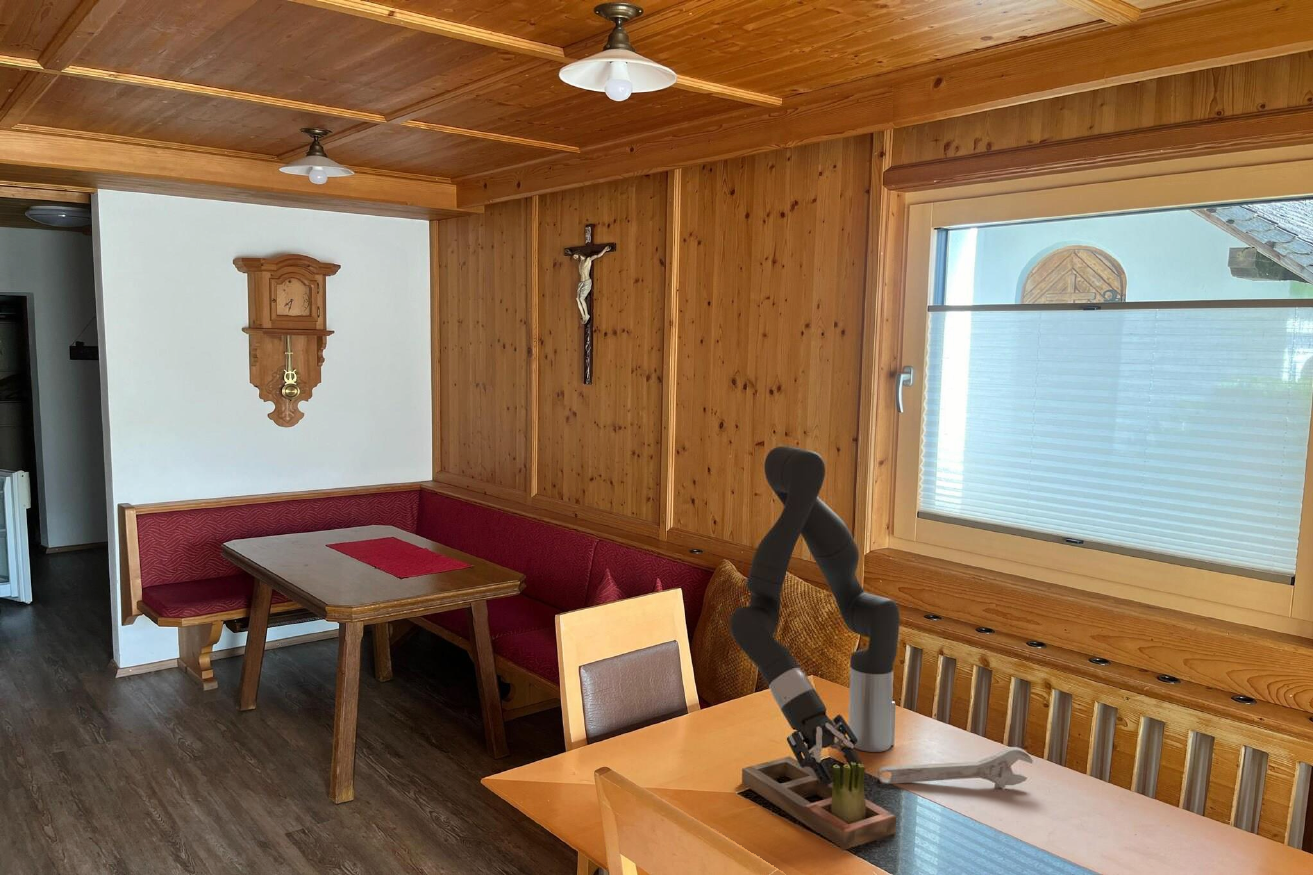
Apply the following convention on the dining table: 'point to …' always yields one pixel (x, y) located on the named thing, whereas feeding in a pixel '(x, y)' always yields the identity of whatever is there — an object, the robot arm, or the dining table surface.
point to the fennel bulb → (849, 793)
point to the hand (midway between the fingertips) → (844, 777)
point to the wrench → (964, 770)
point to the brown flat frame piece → (815, 803)
